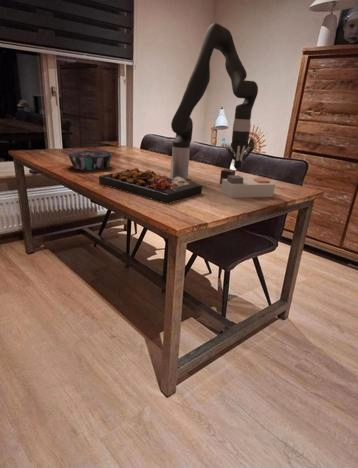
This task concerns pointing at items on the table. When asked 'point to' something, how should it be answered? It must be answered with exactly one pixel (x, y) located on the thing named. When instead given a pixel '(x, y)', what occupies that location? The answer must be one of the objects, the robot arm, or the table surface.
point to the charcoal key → (235, 179)
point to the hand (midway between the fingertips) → (237, 168)
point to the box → (226, 174)
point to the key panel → (247, 189)
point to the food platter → (151, 185)
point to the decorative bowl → (90, 159)
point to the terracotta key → (261, 180)
